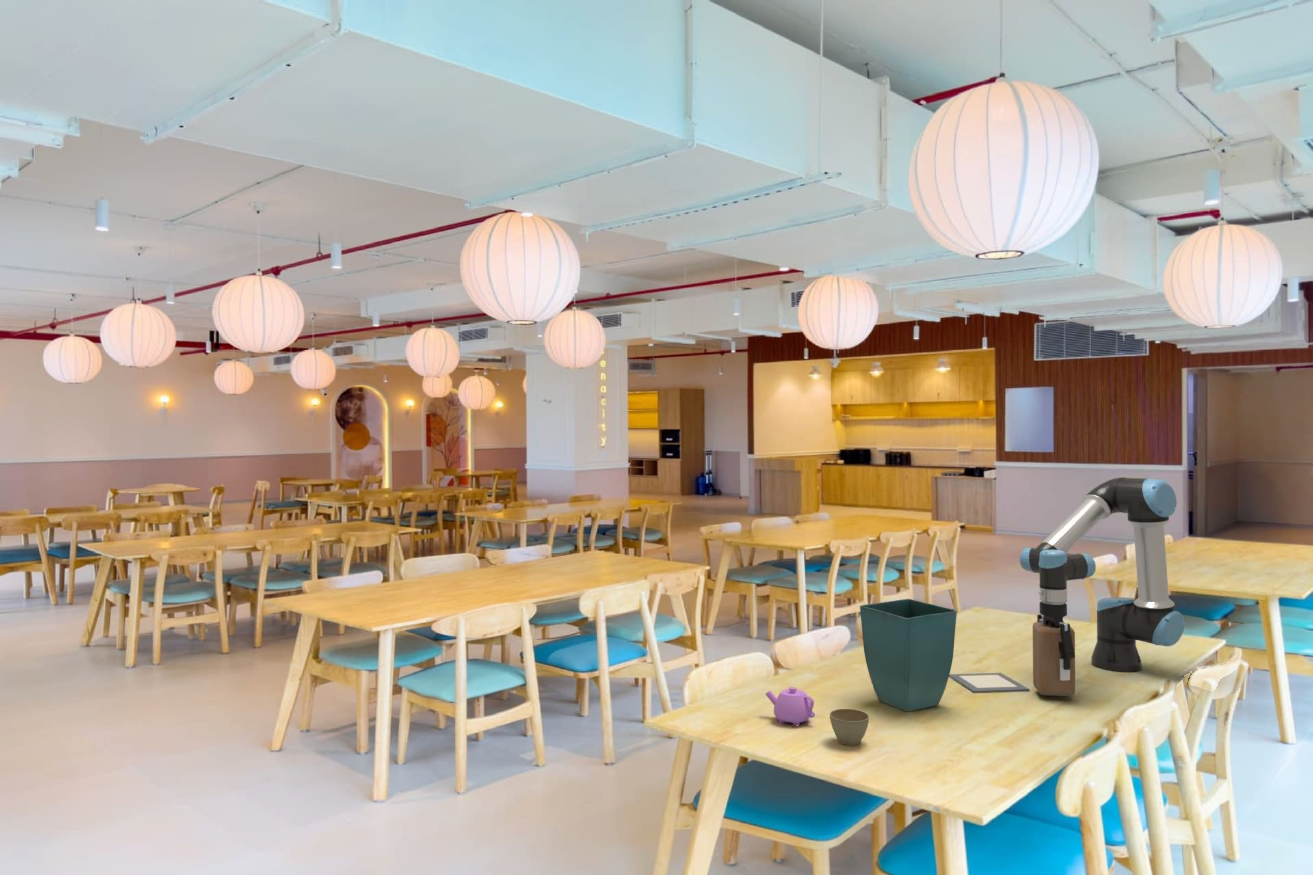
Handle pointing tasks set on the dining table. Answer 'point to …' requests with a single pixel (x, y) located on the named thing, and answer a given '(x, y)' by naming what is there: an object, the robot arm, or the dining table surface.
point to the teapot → (792, 705)
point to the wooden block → (1050, 662)
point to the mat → (988, 682)
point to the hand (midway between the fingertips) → (1053, 674)
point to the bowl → (849, 725)
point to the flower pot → (908, 651)
